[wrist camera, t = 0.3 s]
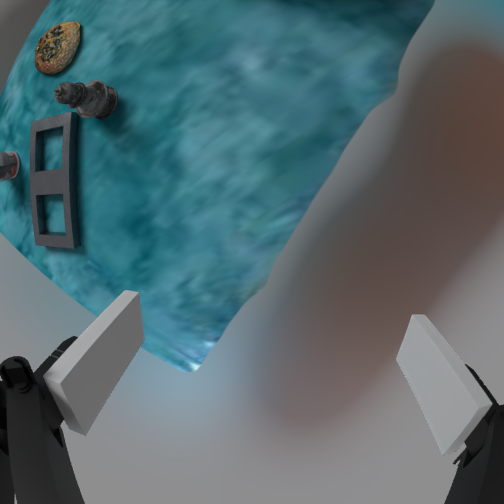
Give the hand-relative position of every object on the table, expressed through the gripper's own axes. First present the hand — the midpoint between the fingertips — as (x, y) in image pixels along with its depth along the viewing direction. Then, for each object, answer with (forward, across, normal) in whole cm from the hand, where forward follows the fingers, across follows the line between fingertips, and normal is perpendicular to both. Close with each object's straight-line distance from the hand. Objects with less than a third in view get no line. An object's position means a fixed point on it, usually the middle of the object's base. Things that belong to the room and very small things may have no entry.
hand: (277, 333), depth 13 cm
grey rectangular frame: (+28, -36, +4) cm, 46 cm away
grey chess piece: (+28, -27, +16) cm, 42 cm away
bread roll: (+28, -39, +29) cm, 56 cm away
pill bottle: (+28, -50, +8) cm, 57 cm away
